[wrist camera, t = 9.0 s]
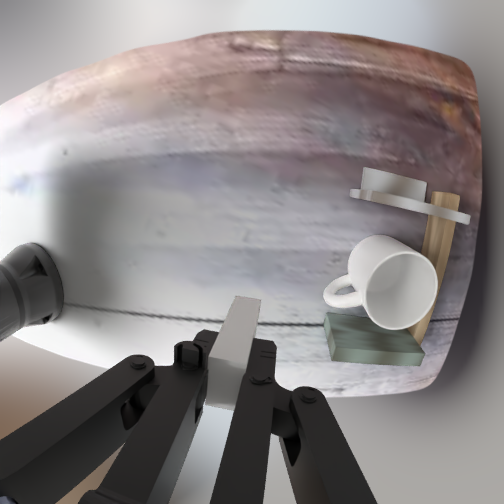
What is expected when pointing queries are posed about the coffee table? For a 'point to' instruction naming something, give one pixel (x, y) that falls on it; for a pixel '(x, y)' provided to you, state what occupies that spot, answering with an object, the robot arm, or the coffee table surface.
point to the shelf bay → (434, 249)
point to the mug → (386, 283)
